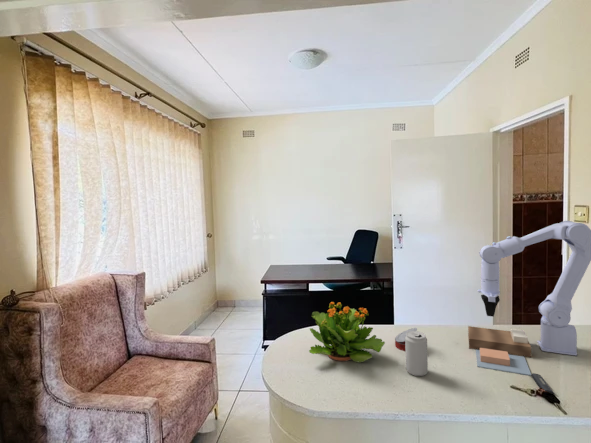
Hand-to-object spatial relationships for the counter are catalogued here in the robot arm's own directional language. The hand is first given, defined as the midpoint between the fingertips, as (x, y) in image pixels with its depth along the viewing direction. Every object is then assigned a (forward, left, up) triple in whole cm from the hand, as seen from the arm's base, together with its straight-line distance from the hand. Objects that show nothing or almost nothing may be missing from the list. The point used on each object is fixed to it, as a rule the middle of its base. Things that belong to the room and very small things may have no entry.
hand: (490, 315), depth 120 cm
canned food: (+27, +14, -10) cm, 32 cm away
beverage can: (+22, +31, -10) cm, 39 cm away
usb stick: (-11, +26, -10) cm, 30 cm away
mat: (-2, +15, -10) cm, 18 cm away
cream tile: (-9, +2, -6) cm, 11 cm away
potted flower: (+48, +29, -10) cm, 57 cm away
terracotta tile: (0, +15, -8) cm, 16 cm away
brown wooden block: (-2, +2, -10) cm, 10 cm away
